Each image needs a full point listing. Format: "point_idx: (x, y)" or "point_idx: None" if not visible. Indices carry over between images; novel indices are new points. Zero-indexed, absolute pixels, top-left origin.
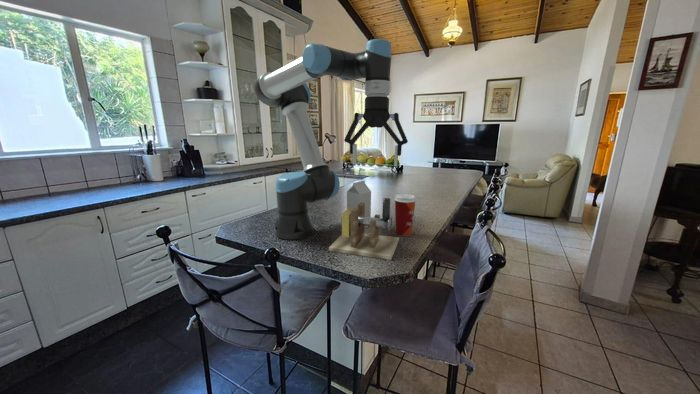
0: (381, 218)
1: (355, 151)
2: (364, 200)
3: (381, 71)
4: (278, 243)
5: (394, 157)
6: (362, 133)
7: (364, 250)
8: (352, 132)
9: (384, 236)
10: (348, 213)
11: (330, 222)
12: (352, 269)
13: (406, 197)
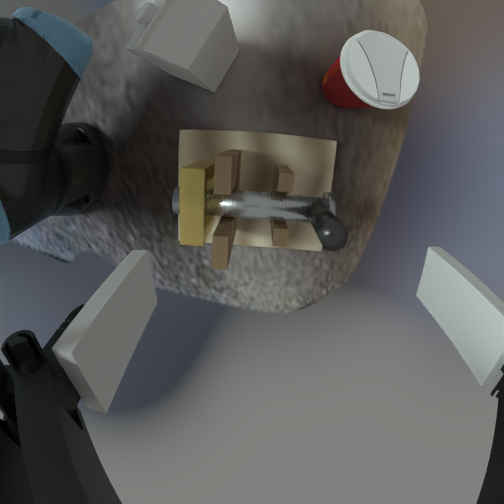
0: (304, 210)
1: (120, 350)
2: (210, 51)
3: None
4: (77, 231)
5: (442, 328)
6: (87, 497)
7: (261, 236)
8: (14, 476)
9: (297, 140)
10: (197, 233)
11: (120, 67)
12: (252, 296)
13: (392, 87)
